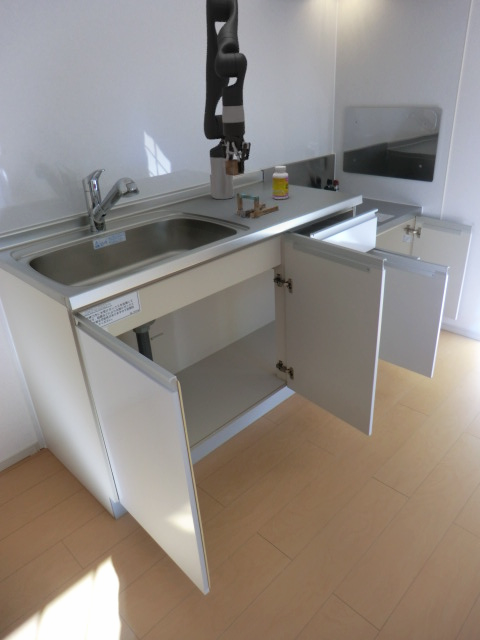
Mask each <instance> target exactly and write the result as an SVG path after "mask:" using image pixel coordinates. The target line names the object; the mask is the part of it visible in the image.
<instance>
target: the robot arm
mask: <svg viewBox="0 0 480 640" xmlns="http://www.w3.org/2000/svg"><path fill="white" fill-rule="evenodd" d="M205 18H206V19H205V20H206V24H205V25H206V57H205V59H206V60H205V104H204V115H203V116H204V117H203V133H204V136H205V138H206V139H207V140H212V141H213V140H220V141H219V142H218V144H217V145H215V146H213V147H212V148H210V150H209V160H210V161H209V162H210V163H209V164H210V175H209V178H210V179H209V180H210V181H209V183H210V192H211V193H210V194H211V198H213V199H215V200H228V199H232V198H234V197H235V189H234V176H233V175H226V169H225V161H228V160H232V159H234V158H235V157H234V156H236V159H237V160H238V173H243V172H244V173H245V161H248V160H249V157H250V153H251V146H252V143H251V142H247V141H246V140H245V139H244V137H245V134H246V122H245V121H246V120H245V109H244V108H245V107H244V83H245V77H246V73H247V69H248V60H247V57H246V55H245V54H244V53H242V52H240V43H239V38H238V37H239V35H238V31H239V29H238V28H239V0H206V1H205ZM216 23H224V24H223V25H222V26H221V28H220V29H219V31H218V32H217V29H216ZM231 78H232V79H234V78H236V81H235V82H234V83H233V84H231V85H229V83H230V80H231ZM220 100H221V103H222V109H221V110H222V111H221V113H222V114H216V111H217V107H218V104H219V102H220Z"/></svg>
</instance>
